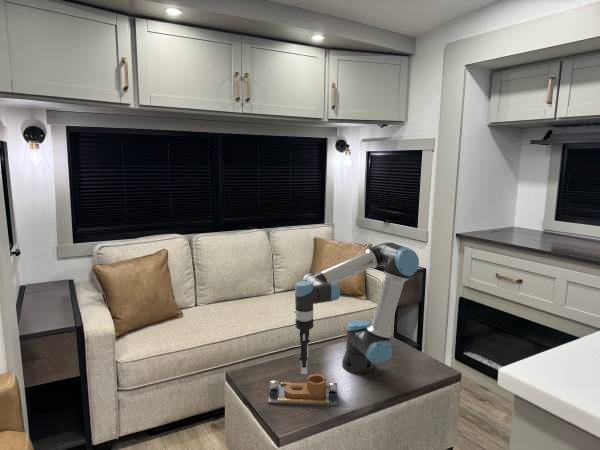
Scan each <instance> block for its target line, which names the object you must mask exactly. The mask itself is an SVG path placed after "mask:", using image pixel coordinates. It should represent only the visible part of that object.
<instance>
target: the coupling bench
mask: <svg viewBox="0 0 600 450" xmlns="http://www.w3.org/2000/svg"><path fill="white" fill-rule="evenodd" d="M290 383H291V382H282V381H281V382H280V384H279V380H269V391H268V392H269V396H268V400H267V402H268V404H271V405H272V404H274V405H275V404H276V405H298V406H299V405H301V406H324V407H338V383H337V382H328V384H327V383H326V396H325V397H324V398H322V399H316V400H307V399H288V398H286V397H285V395H284V387H285V386H286V385H287V384H290Z"/></svg>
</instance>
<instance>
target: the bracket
mask: <svg viewBox="0 0 600 450" xmlns="http://www.w3.org/2000/svg"><path fill="white" fill-rule="evenodd" d="M289 383H290V384H287V385H286V386H285V387H284V395H285V397H286V398H288V399H307V400H316V399H322V398H324V397H325V396H326V384H327V378H326V376H325V375H322V374H320V373H313V374H310V375H308V376H307V377H306V382H289Z"/></svg>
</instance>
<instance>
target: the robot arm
mask: <svg viewBox="0 0 600 450" xmlns="http://www.w3.org/2000/svg"><path fill="white" fill-rule="evenodd" d="M419 266H420V259H419V256H418V255H417V253H416V251H414V249H411V248H409V247H407V246H403V245H399V244H397V243H394V242H384V243H380V244H377V245H373V246H371V247H369V248H367V249H365V251H364V252H363V253H360V254H358V255H356V256H354V257H352V258H349V259H347V260H344V261H343V262H340V263H338V264H336V265H333V266H331V267H329V268H327V269H324V270H322V271H320V272H318V273H316V274H314V273H307V274H305V275H304V276H303V278H302V281H298V282H296V284H295V290H294V298H295V299H294V301H295V303H294V305H295V307H294V308H295V310H294V311H293V313H294V314H295V329H297V330H299V342H300V357H299V358H298V360H299V361H300V374H301V375H308V358H309V343H310V341H311V340H310V339H309V337H310V330H312V329H313V328H314V305H315V304H321V303H322V304H323V303H329V302H330V303H331V302H334V301H338V300H339V299H340V297H341V288H340V286H339V284H338V283H339V282H341V281H343V280H346V279H348V278H350V277H353V276H354V275H357V274H359V273H362V272H364V271H365V270H369V269H370V268H372V269H376V268H378V267H384V269H383V274H384V275H385V277H384V281H383V284H382V287H381V290H380V295H379V298H378V301H377V304H376V306H375V311H374V314H373V317H372V321H371V322H370V321H367V320H363V319H355V320H351V321H349V322H348V323H347V326H346V347H345V348H346V350H345V353H344V355H343V358H342V362H341V363H342V365H341V366H342V368H343V369H344V370H345V371H347V372H349V373H352V374H354V375H355V374H356V375H361V374H362V375H363V374H368V373H370V372H372V371H373V370H374V369H373V368H374V364H377V365H378V364H383V363H384V362H386V361H388V360H389V359H390V358H391V356H392V353H393V350H394V349H393V346H392V343H391V339H392V334H391V326H392V324H393V320H394V317H395V315H396V311H397V307H398V304H399V300H400V297H401V295H402V290H403V287H404V284H405V282H406V281H408V280H409V279H410V276H412V275H414V274H415V273H417V271H418V269H419Z"/></svg>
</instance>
